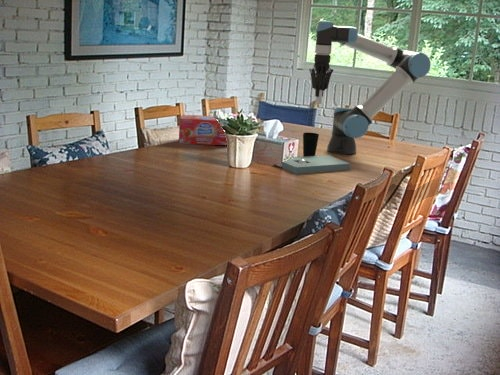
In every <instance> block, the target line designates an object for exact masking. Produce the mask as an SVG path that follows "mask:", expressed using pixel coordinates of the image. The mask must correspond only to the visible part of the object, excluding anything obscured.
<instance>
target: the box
mask: <svg viewBox="0 0 500 375" xmlns="http://www.w3.org/2000/svg"><path fill="white" fill-rule="evenodd" d="M178 122H179V124H178V126H179V127H178V129H179V130H178V144H184V145H185V144H187V145H188V144H189V145H201V146H202V145H203V146H215V145H225V146H224V147H227V146H226V145H227V141H226V137H225V134H224V131H223V129H222V128H221V126H220V124H219V123H218V121H217V120H216V119H214V116H212V115H195V114H182V115H181V116H180V117H179V121H178Z"/></svg>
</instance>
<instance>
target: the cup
mask: <svg viewBox="0 0 500 375" xmlns="http://www.w3.org/2000/svg"><path fill="white" fill-rule="evenodd" d="M319 136H320V134H318V133H316V132H303V133H302V148H303V149H302V150H303V152H302V157H305V156H316V153H317V146H318V142H319Z"/></svg>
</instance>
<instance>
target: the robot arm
mask: <svg viewBox="0 0 500 375" xmlns="http://www.w3.org/2000/svg"><path fill="white" fill-rule="evenodd" d="M315 39H316V40H315V49H314V53H315V54H314V61H313V62H314V64H313V66H312V68H309V72H310V79H311V87H312V88H311V89H314V90H315V93H314V97H315V104H318V105H319V104H320V105H322V100H323V97H324V92H325V91H326V90H327V89H329V88H328V87H329V83H330V80H331V76H332V74H333V72H334V69H333V68H331V66H330V63H331V54H332V44H333V43H339V44H342V45H343V46H346V47H349V48H351V49H353V50H355V51H357V52H361V53H363V54H365V55H368V56H370V57H373V58H374V59H378V60H380V61H382V62H385V63H386V65H387V66H388V67H391V68H393V69H395V71H394V72H393V73H392V74H391V76H389V77H388V78H387V79H386V80H385V81H384V82H383V83H382V84H381V85H380V86H379V87H378V88H377V89H376V90H375V91H374V92H373V93H371V95H369V96H368V98H366V100H364V102H363V103H361V104H360V105H355V106H354V107H335V108H334V110H333V119H332V120H333V121H332V131H331V137H330V139H329V142H328V144H327V148H326V151H328V152H329V153H333V154H339V155H353V154H357V144H356V141H355V139H358V138H361V137H363V136H364V135H366V133H367V132H368V129H369V126H370V125H371V124H373V118H374V117H375V116H376V115H377V114H378V113H379V112H380V111H381V110H382V109H383V108H385V106H387V104H389V103H390V102H391V101H392V99H394V98H395V97H396V96H397V95H398V94H399V93H400V92H401V91H402V90H403V89H404V88H405V87H407V85H411V84H414V82H416V81H417V80H418V79H420V78H423V77H425V76H426V75H427V74H428V73H429V71H430V70H431V65H432V64H431V60H430V58H429V56H428V55H427V54H426V53H423V52H421V51H413V50H407V49H406V50H405V49H403V48H399V47H391V46H388V45H386V44H384V43H381V42H378V41H376V40H374V39H371V38H369V37H366V36H364V35H362V34H359V32H358V29H357V27H354V26H341V25H334V21H330V20H329V21H328V20H327V21H326V20H319V21H317V27H316V38H315Z"/></svg>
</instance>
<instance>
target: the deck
mask: <svg viewBox="0 0 500 375" xmlns="http://www.w3.org/2000/svg"><path fill="white" fill-rule="evenodd" d="M294 157H295V158H293V159H289V160H287V161H284V162H282V168H281V169H284V170H286V171H287V172H290V173H293V174H295V175H303V174H311V173H312V174H313V173H326V172H327V173H328V172H338V171H339V172H340V171H350V170H351V162H348V161H345V160H342V159H339V158H337V157H334V156H331V155H328V154H323V155H321V154H320V155H315V156H305V157H303V156H294ZM302 159H303V160H305V161H306V163H301V164H300V163H298V162H299V160H302Z"/></svg>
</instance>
